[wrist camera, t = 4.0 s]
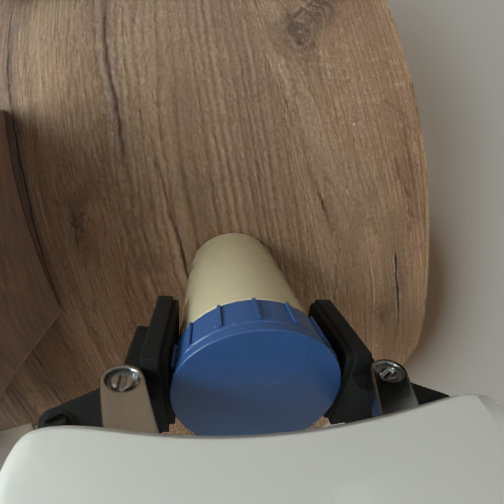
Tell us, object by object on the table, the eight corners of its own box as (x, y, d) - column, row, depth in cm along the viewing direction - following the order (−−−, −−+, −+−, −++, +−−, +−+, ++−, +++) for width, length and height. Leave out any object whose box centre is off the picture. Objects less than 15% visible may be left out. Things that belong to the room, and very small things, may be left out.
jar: (291, 262, 17) (362, 362, 9) (242, 324, 18) (268, 446, 9) (221, 215, 16) (235, 289, 7) (174, 284, 17) (147, 403, 8)
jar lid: (353, 338, 10) (374, 367, 8) (265, 426, 11) (272, 457, 9) (227, 265, 8) (232, 292, 7) (147, 381, 9) (140, 416, 8)
